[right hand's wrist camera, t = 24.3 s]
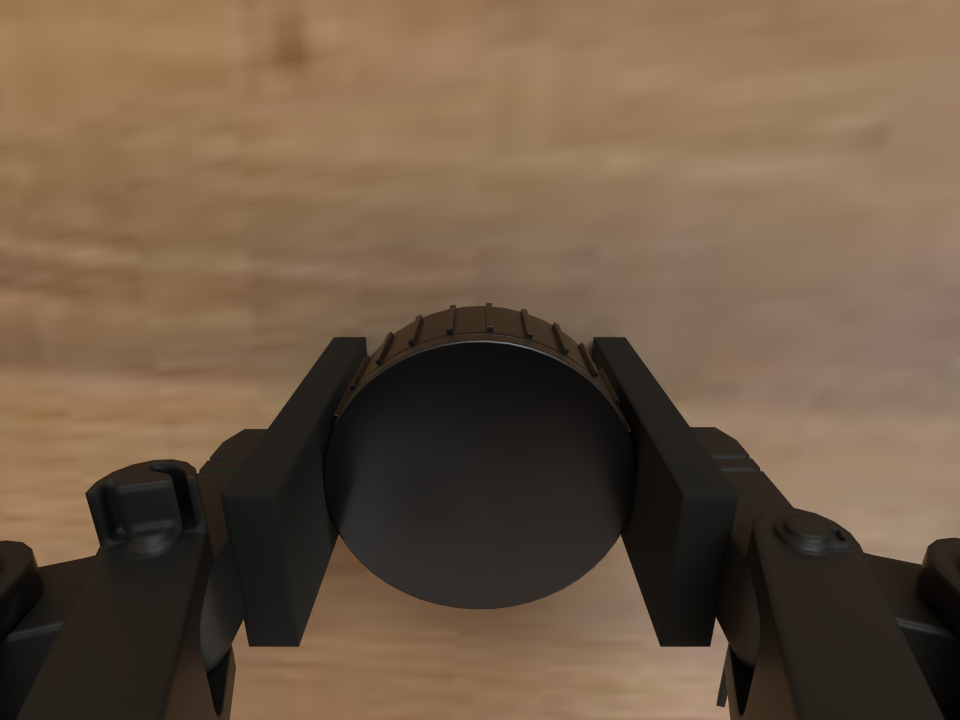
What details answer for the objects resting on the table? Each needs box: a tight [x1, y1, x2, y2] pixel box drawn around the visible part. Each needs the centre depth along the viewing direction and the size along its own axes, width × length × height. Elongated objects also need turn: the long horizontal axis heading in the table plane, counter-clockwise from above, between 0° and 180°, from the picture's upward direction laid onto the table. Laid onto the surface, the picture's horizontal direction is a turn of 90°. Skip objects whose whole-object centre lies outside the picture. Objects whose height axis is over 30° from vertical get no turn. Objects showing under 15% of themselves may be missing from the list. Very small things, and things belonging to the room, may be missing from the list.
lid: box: [323, 303, 637, 609], centre depth 11 cm, size 6×6×2 cm
